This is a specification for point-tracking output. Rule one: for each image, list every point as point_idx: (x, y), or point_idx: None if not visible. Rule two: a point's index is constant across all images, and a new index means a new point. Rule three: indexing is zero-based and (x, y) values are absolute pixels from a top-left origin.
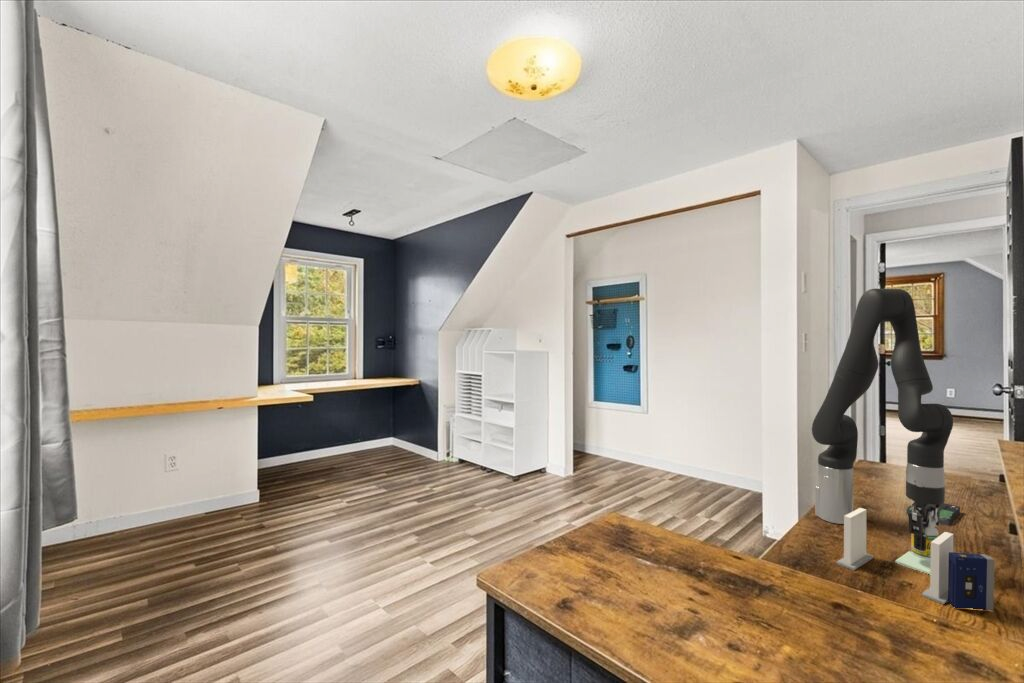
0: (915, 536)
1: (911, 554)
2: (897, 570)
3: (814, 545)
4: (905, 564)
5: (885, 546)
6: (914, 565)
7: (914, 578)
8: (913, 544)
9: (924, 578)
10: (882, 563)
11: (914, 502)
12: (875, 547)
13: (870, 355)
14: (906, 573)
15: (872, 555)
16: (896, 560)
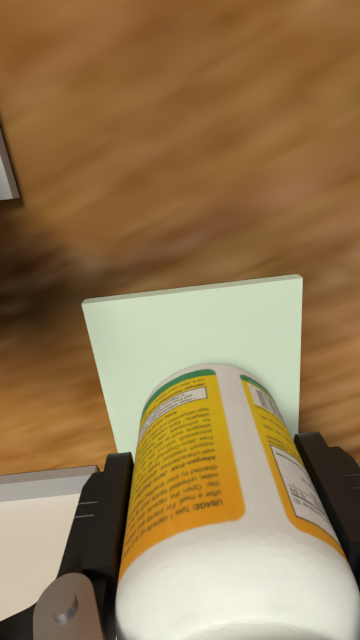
0: (58, 574)
1: (260, 308)
2: (13, 345)
3: None
4: (94, 350)
5: (283, 139)
6: (125, 377)
7: (16, 414)
8: (146, 438)
9: (62, 432)
10: (8, 266)
11: None
12: (202, 107)
13: None
14: (27, 378)
15: (11, 192)
16: (92, 306)
